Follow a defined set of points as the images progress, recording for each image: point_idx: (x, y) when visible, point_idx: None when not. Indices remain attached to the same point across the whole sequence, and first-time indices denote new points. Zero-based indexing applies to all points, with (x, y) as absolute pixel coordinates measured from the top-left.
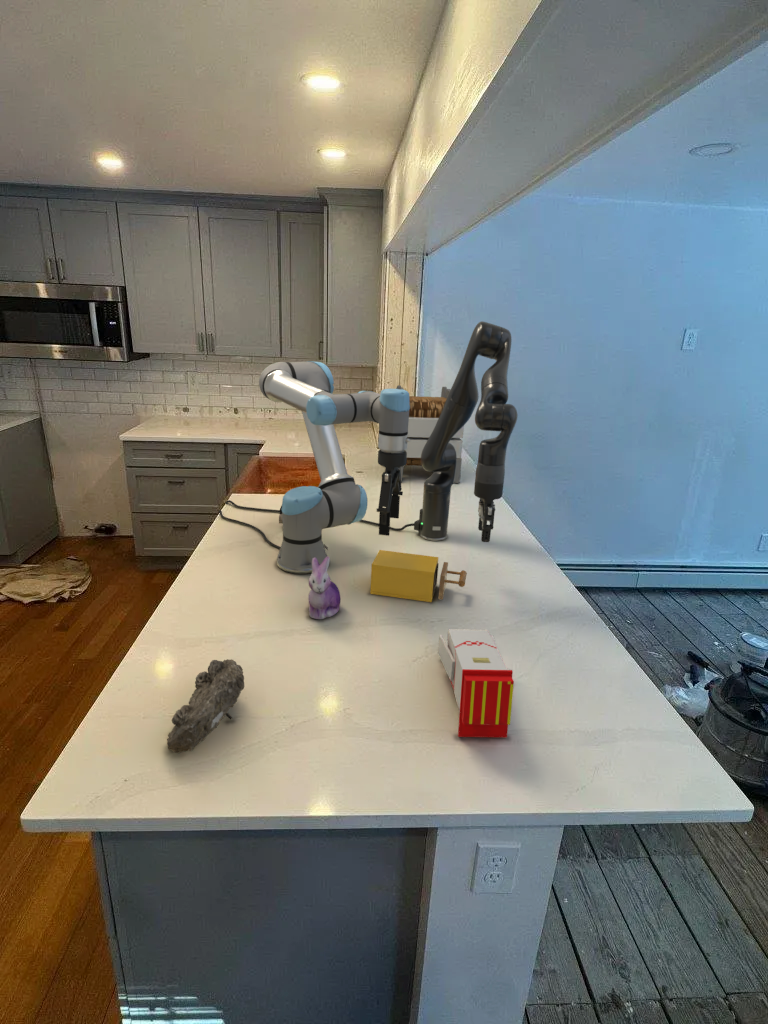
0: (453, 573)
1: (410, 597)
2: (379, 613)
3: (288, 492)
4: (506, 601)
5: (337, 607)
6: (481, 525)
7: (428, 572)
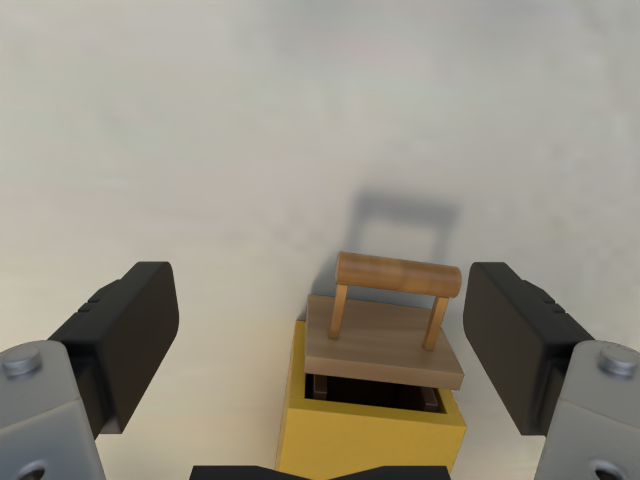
0: (342, 309)
1: None
2: (498, 463)
3: None
4: (401, 39)
5: None
6: (156, 337)
7: (459, 443)
